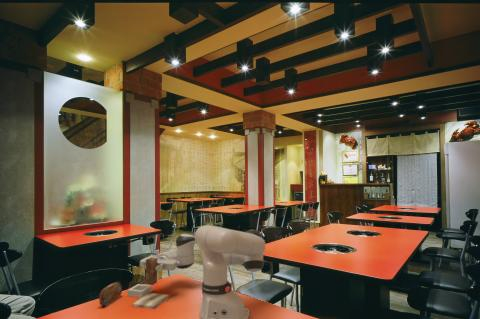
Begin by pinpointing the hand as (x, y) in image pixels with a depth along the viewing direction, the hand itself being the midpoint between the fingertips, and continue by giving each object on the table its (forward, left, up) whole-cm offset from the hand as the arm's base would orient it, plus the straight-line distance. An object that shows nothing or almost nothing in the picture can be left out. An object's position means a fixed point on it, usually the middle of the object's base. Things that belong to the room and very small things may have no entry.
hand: (150, 268), depth 143 cm
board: (0, -1, -17) cm, 17 cm away
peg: (0, -1, -8) cm, 8 cm away
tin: (+20, +4, -17) cm, 26 cm away
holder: (+12, -9, -17) cm, 22 cm away
